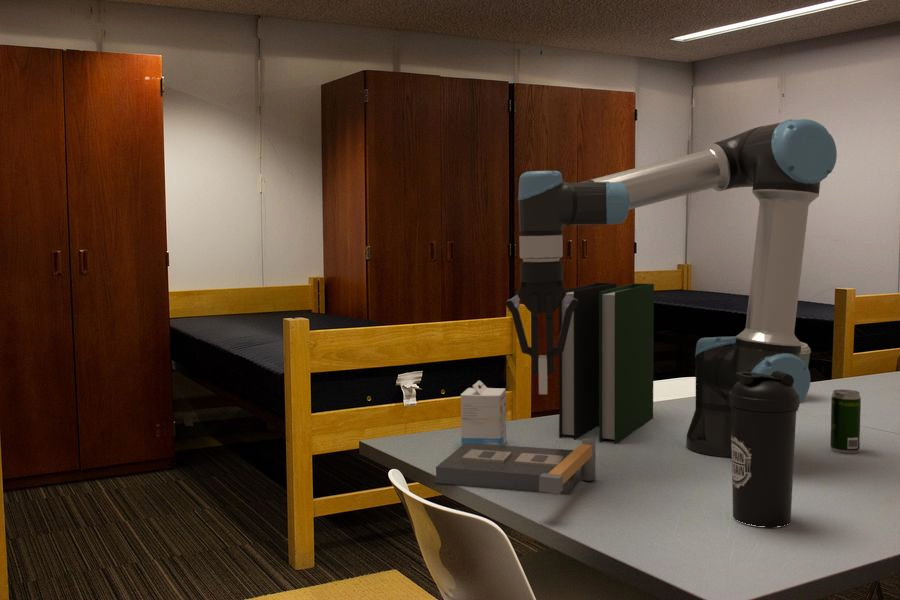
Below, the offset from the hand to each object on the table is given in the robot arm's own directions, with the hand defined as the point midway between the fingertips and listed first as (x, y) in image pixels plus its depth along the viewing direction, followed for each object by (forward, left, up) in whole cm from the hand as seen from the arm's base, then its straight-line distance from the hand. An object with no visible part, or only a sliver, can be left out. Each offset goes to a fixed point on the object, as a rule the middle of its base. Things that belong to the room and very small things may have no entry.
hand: (543, 392), depth 154 cm
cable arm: (-6, +8, -16) cm, 19 cm away
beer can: (-54, -37, -17) cm, 67 cm away
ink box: (+17, -22, -17) cm, 33 cm away
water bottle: (-37, +10, -17) cm, 41 cm away
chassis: (+6, -3, -16) cm, 18 cm away
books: (-5, -45, -17) cm, 49 cm away
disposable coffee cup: (-46, -87, -17) cm, 100 cm away
